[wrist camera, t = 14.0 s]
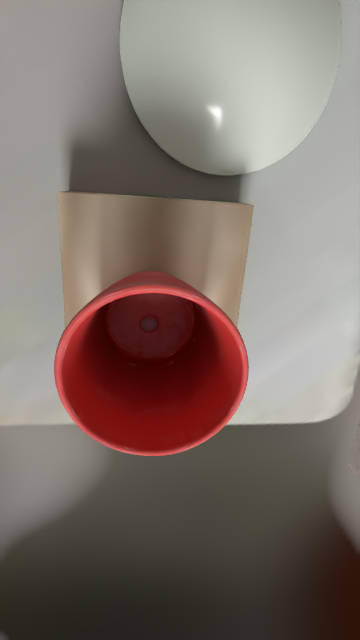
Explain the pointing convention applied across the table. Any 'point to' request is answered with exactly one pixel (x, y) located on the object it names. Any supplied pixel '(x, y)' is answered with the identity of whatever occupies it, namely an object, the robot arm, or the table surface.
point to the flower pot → (151, 366)
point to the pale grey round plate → (229, 76)
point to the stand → (152, 244)
